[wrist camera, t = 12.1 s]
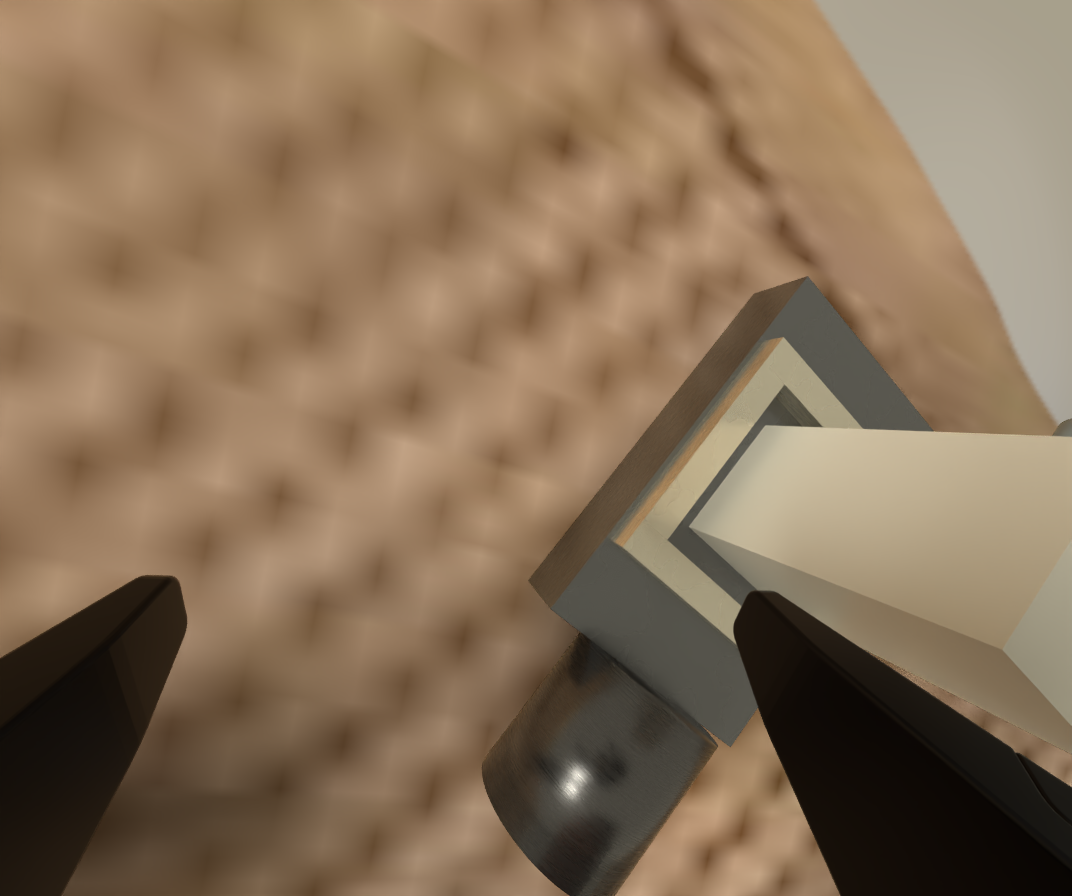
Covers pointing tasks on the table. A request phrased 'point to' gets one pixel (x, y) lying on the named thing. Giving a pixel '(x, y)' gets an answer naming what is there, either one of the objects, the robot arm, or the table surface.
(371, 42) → the table surface
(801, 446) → the cream block
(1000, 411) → the table surface
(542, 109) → the table surface
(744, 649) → the robot arm
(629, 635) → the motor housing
